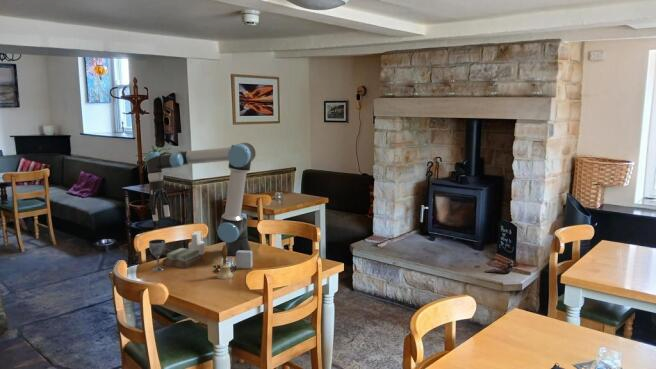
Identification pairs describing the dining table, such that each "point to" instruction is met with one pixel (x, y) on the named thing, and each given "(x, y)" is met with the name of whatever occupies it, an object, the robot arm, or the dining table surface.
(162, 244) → the wine glass
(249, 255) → the medicine box
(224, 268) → the hand bell
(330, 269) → the dining table surface
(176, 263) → the tiered stand
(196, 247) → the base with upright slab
